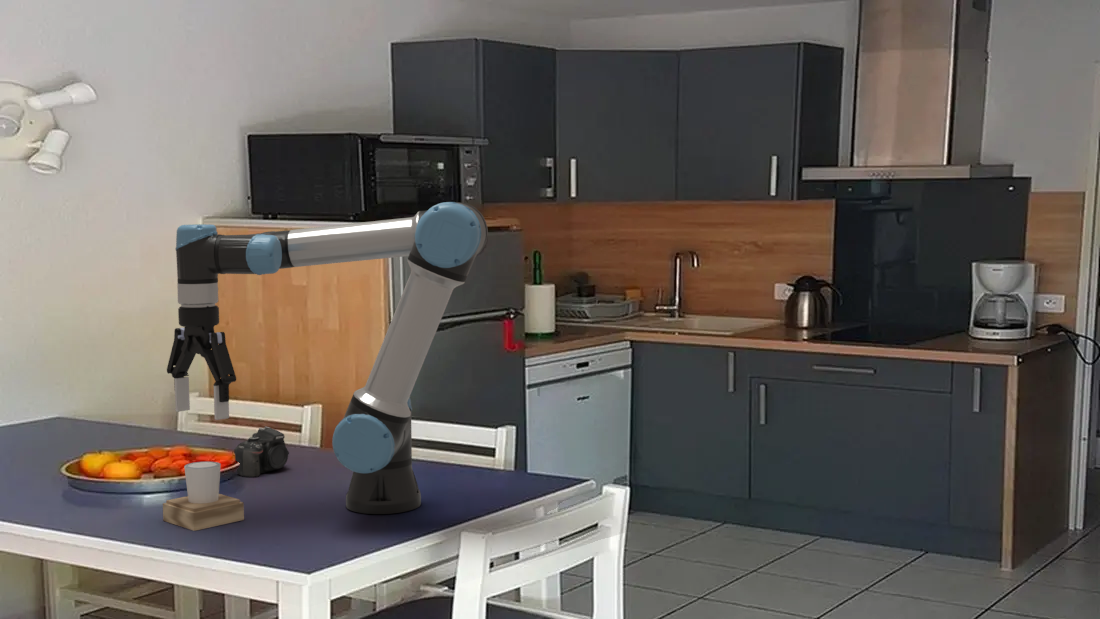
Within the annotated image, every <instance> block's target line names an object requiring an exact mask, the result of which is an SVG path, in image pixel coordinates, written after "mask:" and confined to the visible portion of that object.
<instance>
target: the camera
mask: <svg viewBox="0 0 1100 619" xmlns="http://www.w3.org/2000/svg"><path fill="white" fill-rule="evenodd" d="M233 453H234V459H235V460H234V461H237V462H239V463H240V466H239V468H238V469H237V471H236V473H237V475H238V476H240V477H246V478H259V477H260V475H261V474H264V473H269V472H272V471H276V470H280V469H282V468H284V467H285V465H286V463H287V462H288V459H289V455H290V452H289V450H288V447H287V446H286V443H285V434H284V433H283V432H282V431H279V430H277V429H276V428H275V429H274V428H272V427H269V426H264V427H258V430H257V432H254V433H253V434H252V435H251V437H248V439H247V440H245V441H243V442H239V443H238V445H237V446H236V447H235V448H234V450H233Z"/></svg>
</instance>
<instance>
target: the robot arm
mask: <svg viewBox="0 0 1100 619" xmlns="http://www.w3.org/2000/svg"><path fill="white" fill-rule="evenodd" d="M488 228H489V227H488V226H487V221H486V219H485V217H484V215H483V214H482V213H481V211H480V210H478V209H477V208H476V207H474V206H473V205H471V204H469V203H465V202H458V201H456V202H455V201H446V202H440V203H437V204H435V205H432V206H431V207H430V208H429V209H428V210H427V209H426V210H419V211H417V213H416V214H414V216H411V217H402V218H400V217H399V218H393V219H382V220H375V221H374V220H373V221H365V222H354V223H345V224H334V225H326V226H316V227H306V228H298V229H296V228H295V229H289V230H278V231H277V230H276V231H275V230H274V231H272V230H271V231H265V232H261V233H250V234H226V235H225V234H220V233H219V234H218V231H217V227H216V225H215V224H204V223H203V224H181V225H179V227H177V229H176V237H175V238H176V240H175V242H176V244H175V245H176V246H175V253H176V254H175V255H176V273H177V274H176V275H177V276H176V277H177V285H176V286H177V304H179V305H180V306H179V308H177V309H178V311H177V312H178V313H177V314H178V315H177V316H178V325H179V326H181V327H179V328H178V327H175V329H174V335H173V338H174V339H173V343H172V347H171V351H170V355H169V359H168V362H167V363H168V364H167V365H166V366H167V367H166V373H167V374H171V376H172V378H173V381H174V382H173V384H174V400H175V401H174V403H175V404H174V405H175V409H174V410H175V412H176V413H177V412H185V411H190V410H191V406H190V402H191V401H190V377H189V376H190V374H189V373H188V371H189V369H190V368H191V365H192V364H193V361H194V359H195V357H196V355H200V356H201V358H203V359H204V361H205V362H206V365H207V367H208V369H209V371H210V373H211V375H212V377H213V380H214V383H213V409H214V411H213V412H214V420H215V421H217V420H218V421H219V420H226V419H230V407H229V406H230V405H229V404H230V384H231V383H235V382H237V375H236V373H235V372H236V371H235V369H234V366H233V363H232V360H231V356H230V354H229V350H228V346H227V342H226V341H227V340H226V334H225V331H217V332H215V326H218V325H219V324H220V307H219V306H218V305H216V304H217V303H218V302H219V275H226V274H227V275H256V276H262V275H269V274H276V273H278V271H279V270H282V269H284V270H285V269H291V268H298V267H309V266H310V267H311V266H319V265H321V266H322V265H327V264H328V265H330V264H341V263H349V262H350V263H351V262H361V261H370V260H371V261H372V260H380V259H391V258H392V259H393V258H400V257H407V260H406V261H407V263H408V266H409V269H410V274H409V277H408V279H407V281H406V284H405V287H404V289H403V291H402V294H401V296H400V298H399V301H398V304H397V306H396V309H395V311H394V314H393V316H392V319H391V322H390V323H389V326H388V328H387V330H386V334H385V336H384V338H383V341H382V344H381V345H380V348H379V351H378V353H377V355H376V358H375V361H374V363H373V366H372V368H371V371H370V372H369V375H368V378H367V381H366V382H365V385H364V386H363V387H361V388H359V389H356V390H354V392H353V394H352V397H351V399H350V401H349V404H348V406H347V409H346V412H345V414H344V416H343V418H342V419H341V420H340V421H339V422H338V424H337V425H336V427H335V429H334V431H333V435H332V439H331V440H332V442H331V445H332V449H333V453H334V455H335V456H336V457H335V458H337V460H338V462H339V463H340V464H341V465H342V466H343V467H344V468H346V469H348V470H349V471H351V472H352V475H351V478H350V482H349V487H348V490H347V493H346V495H345V507H346V509H347V510H349V511H352V512H354V513H358V514H367V515H389V514H390V515H391V514H397V513H398V514H399V513H404V512H405V513H406V512H409V511H412V510H415V509H417V508H419V507H420V506H421V505H422V495H421V494H422V493H421V490H420V489H419V486H418V485H419V484H418V481H417V479H416V476H415V472H414V469H413V464H412V463H413V461H412V458H413V456H412V454H413V451H412V450H413V449H412V447H413V446H412V444H413V443H412V442H413V441H412V440H413V439H412V411H413V407H412V400H411V398H410V397H411V394H412V392H413V389H414V387H415V384H416V382H417V379H418V377H419V375H420V372H421V369H422V367H423V365H424V362H425V360H426V357H427V355H428V353H429V350H430V347H431V345H432V342H433V341H434V338H435V335H436V333H437V331H438V328H439V325H440V324H441V320H442V319H443V316H444V313H445V310H446V308H447V306H448V303H449V301H450V298H451V296H452V293H453V291H454V289H455V288H457V287H459V286H462V285H464V284H465V282H466V281H467V278H468V275H469V273H470V270H471V268H472V266H473V264H474V261H475V258H476V257H477V255H479V254H480V253H481V252H482V250H483V249H484V248H485V245H486V243H487V240H488V233H489V231H488Z"/></svg>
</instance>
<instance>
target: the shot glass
mask: <svg viewBox="0 0 1100 619" xmlns="http://www.w3.org/2000/svg"><path fill="white" fill-rule="evenodd" d="M221 465H222V463H220V462H219V461H218V462H217V461H207V460H206V461H196V462H191V463H186V464H185V465H184V474H185V475H184V476H185V483H186V490H187V496H188V501H189V502H190V503H197V504H202V503H211V502H215V501H217V500H218V497H219V494H220V479H221V468H222V467H221Z"/></svg>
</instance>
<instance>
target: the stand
mask: <svg viewBox="0 0 1100 619" xmlns="http://www.w3.org/2000/svg"><path fill="white" fill-rule="evenodd" d="M244 507H245V504H244V502H243V501H241V499H239V498H236V497H232V496H229V495H226V494H222V493H219V497H218V500H217V501H215V502H211V503H202V504H197V503H190V502H189V501H188V495H187V496H182V497H175V498H172V499H166V502H163V503H162V521H163V522H166V523H169V524H172V525H176V526H178V527H182V528H184V529H186V530H187V529H188V530H190V531H193V532H194V531H199V530H200V531H201V530H204V529H208V528H213V527H217V526H223V525H227V524H231V523H235V522H239V521H244V520H245V508H244Z"/></svg>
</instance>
